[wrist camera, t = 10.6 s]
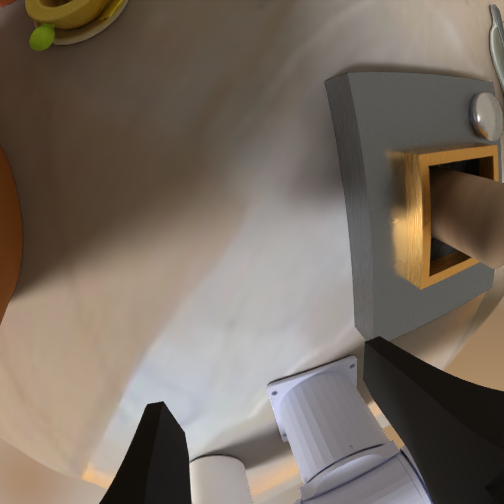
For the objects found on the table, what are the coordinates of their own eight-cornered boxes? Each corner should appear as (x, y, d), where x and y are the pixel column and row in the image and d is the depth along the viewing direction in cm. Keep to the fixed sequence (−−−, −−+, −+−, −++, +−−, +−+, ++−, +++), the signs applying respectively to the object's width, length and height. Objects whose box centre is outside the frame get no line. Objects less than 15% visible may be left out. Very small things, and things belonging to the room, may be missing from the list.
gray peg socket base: (471, 274, 24) (502, 294, 20) (354, 326, 23) (382, 360, 19) (466, 83, 17) (506, 82, 13) (324, 81, 16) (361, 67, 12)
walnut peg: (446, 221, 21) (519, 255, 14) (401, 235, 21) (478, 279, 13) (444, 161, 19) (525, 180, 12) (397, 169, 19) (485, 192, 11)
